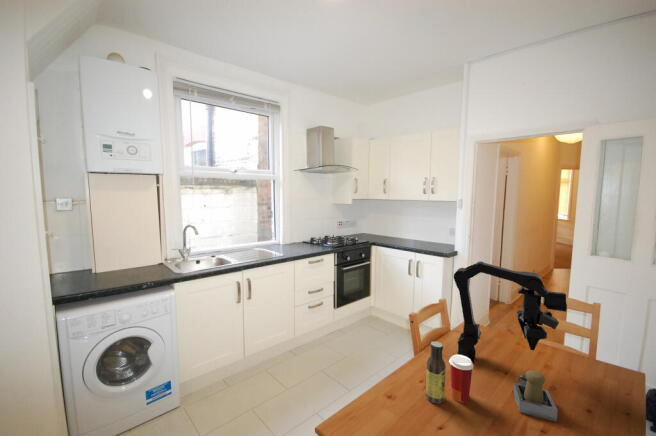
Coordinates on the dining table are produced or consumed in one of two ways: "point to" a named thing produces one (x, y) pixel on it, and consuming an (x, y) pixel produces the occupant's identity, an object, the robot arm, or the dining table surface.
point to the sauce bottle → (435, 374)
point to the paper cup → (460, 377)
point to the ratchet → (532, 408)
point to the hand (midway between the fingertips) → (529, 344)
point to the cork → (534, 387)
